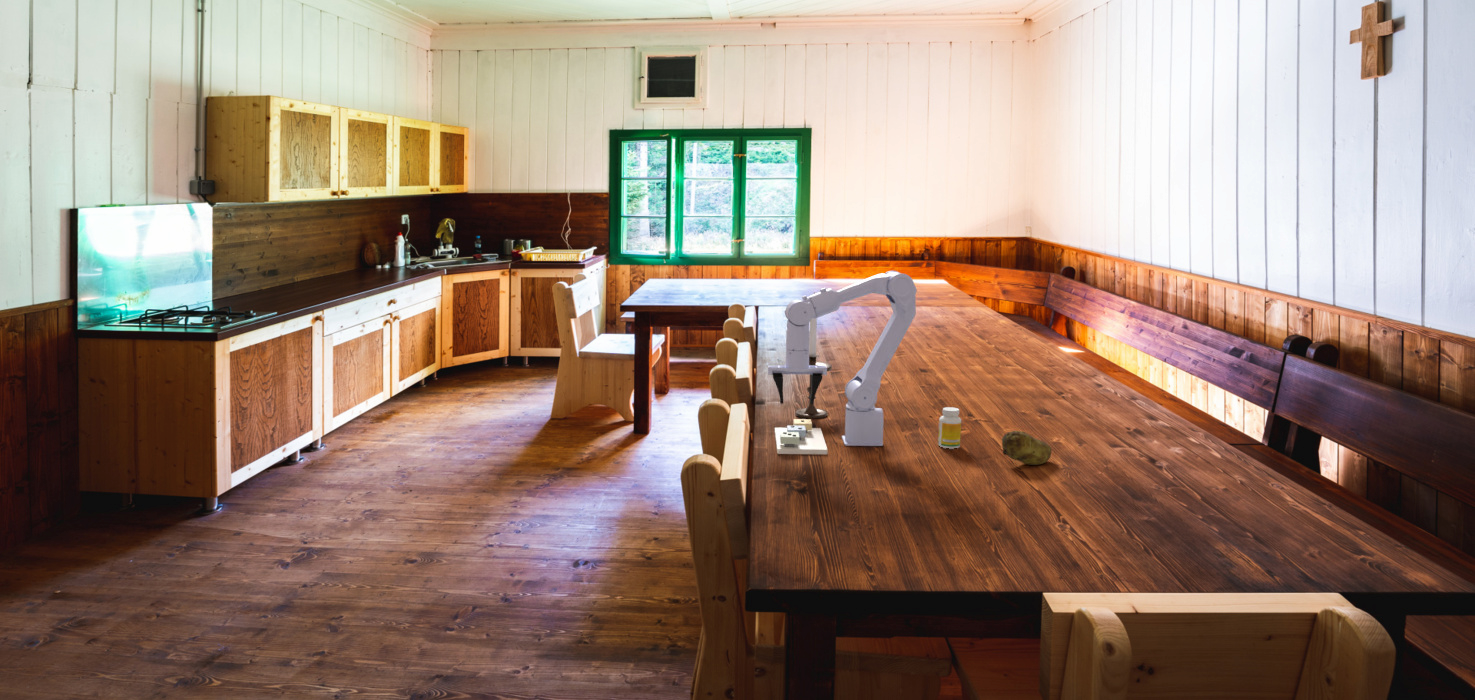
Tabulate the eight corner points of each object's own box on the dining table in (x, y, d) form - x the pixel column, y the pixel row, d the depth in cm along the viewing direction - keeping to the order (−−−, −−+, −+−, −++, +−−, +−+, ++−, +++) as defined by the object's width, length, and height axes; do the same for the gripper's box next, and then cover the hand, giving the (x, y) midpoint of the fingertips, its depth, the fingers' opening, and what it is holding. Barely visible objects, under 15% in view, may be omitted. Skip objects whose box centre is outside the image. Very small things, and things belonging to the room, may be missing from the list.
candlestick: (832, 419, 247) (835, 294, 241) (793, 419, 247) (795, 293, 241) (828, 410, 258) (831, 290, 252) (791, 410, 258) (793, 289, 252)
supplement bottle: (933, 444, 223) (935, 407, 221) (952, 442, 225) (954, 405, 223) (945, 450, 218) (947, 412, 216) (964, 448, 220) (966, 410, 218)
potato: (1061, 468, 204) (1063, 434, 203) (1007, 469, 203) (1009, 435, 202) (1045, 458, 212) (1047, 425, 211) (993, 459, 211) (995, 426, 210)
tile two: (804, 432, 225) (804, 424, 225) (805, 436, 221) (805, 429, 220) (786, 431, 225) (786, 424, 225) (787, 436, 221) (787, 429, 220)
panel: (820, 432, 234) (820, 424, 233) (827, 454, 214) (827, 445, 213) (774, 432, 234) (774, 423, 233) (777, 453, 214) (777, 444, 214)
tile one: (810, 425, 231) (810, 418, 231) (811, 430, 227) (812, 422, 227) (793, 425, 231) (793, 418, 231) (794, 429, 227) (794, 422, 227)
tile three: (798, 438, 219) (798, 431, 218) (799, 443, 214) (799, 436, 214) (779, 438, 219) (780, 431, 218) (780, 443, 214) (780, 436, 214)
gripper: (825, 346, 223) (824, 399, 225) (767, 346, 223) (767, 399, 225) (828, 351, 216) (827, 405, 218) (768, 351, 216) (767, 405, 219)
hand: (796, 402), depth 221 cm, fingers open, 7 cm apart
